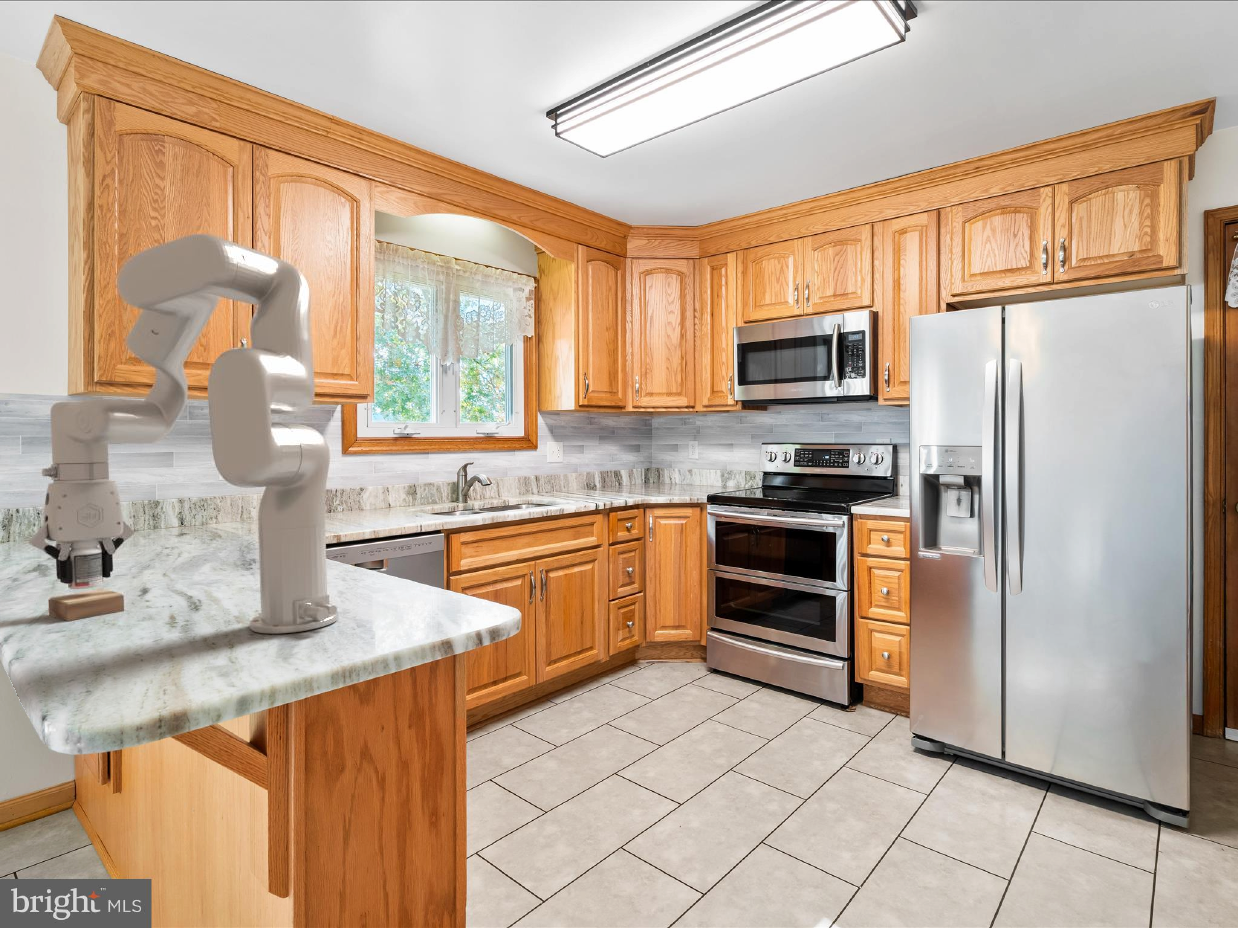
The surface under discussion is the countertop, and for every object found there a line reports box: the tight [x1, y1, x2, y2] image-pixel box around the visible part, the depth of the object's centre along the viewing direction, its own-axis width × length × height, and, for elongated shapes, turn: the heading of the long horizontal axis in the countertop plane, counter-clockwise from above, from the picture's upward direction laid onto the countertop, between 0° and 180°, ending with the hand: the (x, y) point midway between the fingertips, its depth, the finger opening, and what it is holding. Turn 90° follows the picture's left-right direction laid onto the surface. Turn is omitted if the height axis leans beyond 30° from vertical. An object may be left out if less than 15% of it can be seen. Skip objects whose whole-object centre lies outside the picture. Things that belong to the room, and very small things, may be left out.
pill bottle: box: [67, 539, 104, 590], centre depth 116 cm, size 5×5×8 cm
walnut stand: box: [47, 588, 125, 622], centre depth 116 cm, size 8×8×3 cm
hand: (85, 578), depth 116 cm, fingers closed on pill bottle, 4 cm apart
